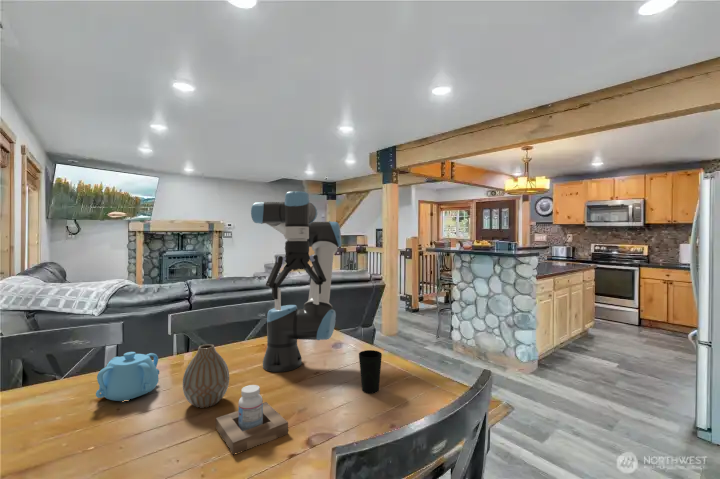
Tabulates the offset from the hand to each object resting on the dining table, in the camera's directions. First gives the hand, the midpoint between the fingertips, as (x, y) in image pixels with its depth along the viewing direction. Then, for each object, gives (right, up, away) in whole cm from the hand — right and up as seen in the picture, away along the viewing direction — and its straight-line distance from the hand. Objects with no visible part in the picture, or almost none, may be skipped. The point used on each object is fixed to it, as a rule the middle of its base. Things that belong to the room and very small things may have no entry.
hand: (297, 306), depth 109 cm
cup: (+23, -29, +5) cm, 37 cm away
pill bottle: (-9, -29, -19) cm, 36 cm away
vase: (-27, -29, -4) cm, 40 cm away
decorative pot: (-55, -29, +2) cm, 62 cm away
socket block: (-9, -29, -20) cm, 36 cm away
